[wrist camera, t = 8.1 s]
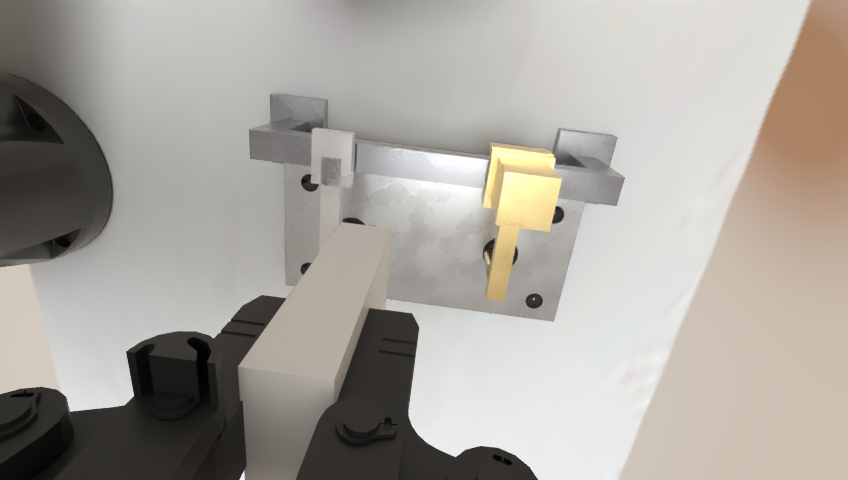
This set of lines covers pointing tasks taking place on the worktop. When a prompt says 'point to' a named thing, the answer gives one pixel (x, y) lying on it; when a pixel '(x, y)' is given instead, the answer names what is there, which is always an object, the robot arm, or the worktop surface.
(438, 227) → the flange plate
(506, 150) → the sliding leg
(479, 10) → the worktop surface
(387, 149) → the beam gauge
